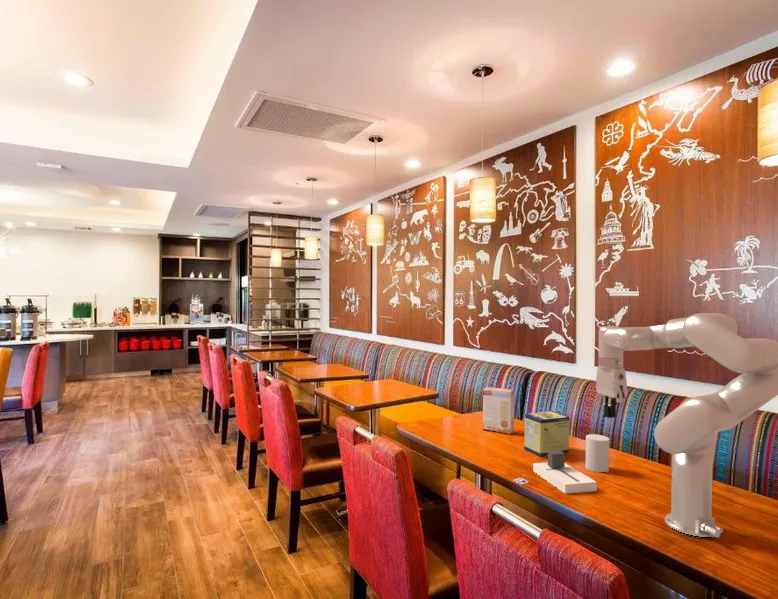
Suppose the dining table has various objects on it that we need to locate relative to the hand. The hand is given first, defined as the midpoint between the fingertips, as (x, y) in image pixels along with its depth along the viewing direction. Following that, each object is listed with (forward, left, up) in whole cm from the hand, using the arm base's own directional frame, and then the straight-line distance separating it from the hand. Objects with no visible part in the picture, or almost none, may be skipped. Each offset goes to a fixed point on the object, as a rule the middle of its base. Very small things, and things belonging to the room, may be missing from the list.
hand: (609, 416), depth 152 cm
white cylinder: (+19, -10, -25) cm, 33 cm away
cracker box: (+72, +5, -25) cm, 76 cm away
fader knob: (+16, +10, -22) cm, 28 cm away
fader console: (+11, +10, -25) cm, 29 cm away
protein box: (+41, -2, -25) cm, 48 cm away
